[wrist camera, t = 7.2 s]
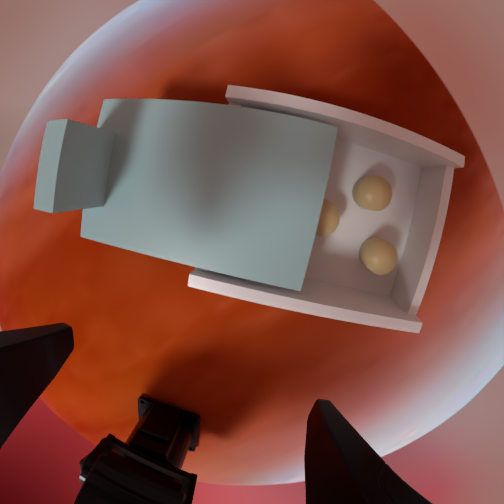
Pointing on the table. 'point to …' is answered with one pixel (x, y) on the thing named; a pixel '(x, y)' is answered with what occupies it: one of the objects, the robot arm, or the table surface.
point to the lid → (193, 184)
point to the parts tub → (360, 220)
